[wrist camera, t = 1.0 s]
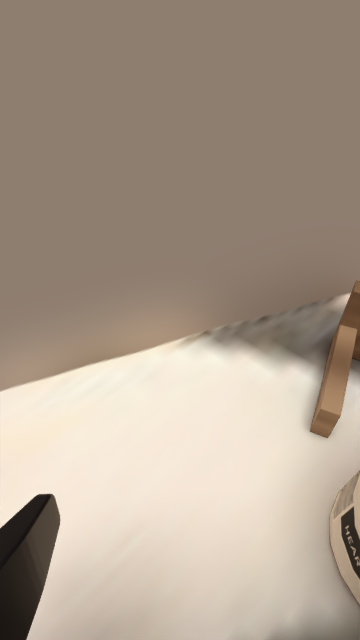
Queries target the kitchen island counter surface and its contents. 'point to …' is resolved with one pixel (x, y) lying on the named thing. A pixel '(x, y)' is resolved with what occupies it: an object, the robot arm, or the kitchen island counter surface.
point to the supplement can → (347, 534)
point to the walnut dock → (338, 367)
